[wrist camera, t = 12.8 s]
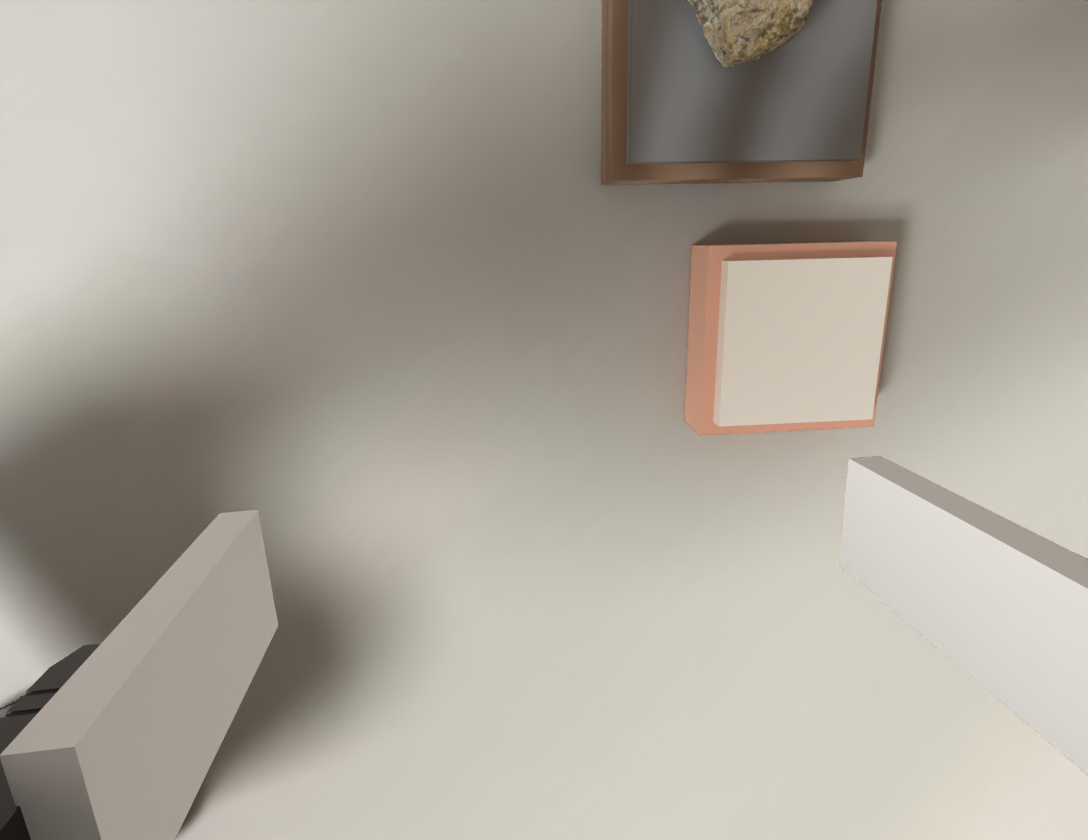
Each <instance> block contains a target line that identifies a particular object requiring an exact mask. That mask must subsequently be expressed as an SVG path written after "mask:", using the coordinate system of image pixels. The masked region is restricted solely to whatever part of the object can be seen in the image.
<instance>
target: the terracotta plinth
mask: <svg viewBox="0 0 1088 840" xmlns="http://www.w3.org/2000/svg"><path fill="white" fill-rule="evenodd" d="M896 246H897V242H892V241H853V242H811V243H769V244H726V245H692V253H691V277H690V301H689V325H688V350H687V374H686V398H685V422H686V423H687V424H688V425H689V426H690V427H691V428H692V429H693V430H694V431H695V432H697V433H698V434H699V435H714V434H735V433H755V432H776V431H796V430H817V429H837V428H858V427H874V420H875V412H876V404H877V396H878V388H879V380H880V373H881V365H882V357H883V349H884V341H885V333H886V325H887V317H888V309H889V302H890V294H891V286H892V278H893V270H894V262H895V254H896Z"/></svg>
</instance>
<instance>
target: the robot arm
mask: <svg viewBox="0 0 1088 840" xmlns="http://www.w3.org/2000/svg"><path fill="white" fill-rule="evenodd" d="M839 566H840V567H841V568H842V569H843V570H844V571H846V572H847V573H848V574H849V575H850V576H852V577H853V578H854V579H855V580H856V581H858V582H859V583H860V584H861V585H862V586H863V587H865V588H866V589H867V590H868V591H869V592H871V593H872V594H873V595H874V596H875V597H876V598H878V599H879V600H880V601H881V602H882V603H884V604H885V605H886V606H887V607H888V608H890V609H891V610H892V611H893V612H894V613H895V614H897V615H898V616H899V617H900V618H901V619H903V620H904V621H905V622H906V623H907V624H908V625H910V626H911V627H912V628H913V629H914V630H916V631H917V632H918V633H919V634H920V635H922V636H923V637H924V638H925V639H926V640H927V641H929V642H930V643H931V644H932V645H933V646H935V647H936V648H937V649H938V650H939V651H940V652H942V653H943V654H944V655H945V656H946V657H948V658H949V659H950V660H951V661H952V662H954V663H955V664H956V665H957V666H958V667H959V668H961V669H962V670H963V671H964V672H965V673H967V674H968V675H969V676H970V677H971V678H972V679H974V680H975V681H976V682H977V683H978V684H980V685H981V686H982V687H983V688H984V689H986V690H987V691H988V692H989V693H990V694H991V695H993V696H994V697H995V698H996V699H997V700H999V701H1000V702H1001V703H1002V704H1003V705H1004V706H1006V707H1007V708H1008V709H1009V710H1010V711H1012V712H1013V713H1014V714H1015V715H1016V716H1018V717H1019V718H1020V719H1021V720H1022V721H1023V722H1025V723H1026V724H1027V725H1028V726H1029V727H1031V728H1032V729H1033V730H1034V731H1035V732H1036V733H1038V734H1039V735H1040V736H1041V737H1042V738H1044V739H1045V740H1046V741H1047V742H1048V743H1050V744H1051V745H1052V746H1053V747H1054V748H1055V749H1057V750H1058V751H1059V752H1060V753H1061V754H1063V755H1064V756H1065V757H1066V758H1067V759H1068V760H1070V761H1071V762H1072V763H1073V764H1074V765H1076V766H1077V767H1078V768H1079V769H1080V770H1081V771H1083V772H1084V773H1085V774H1086V775H1087V776H1088V559H1086V558H1084V557H1082V556H1080V555H1078V554H1076V553H1074V552H1072V551H1070V550H1068V549H1066V548H1064V547H1062V546H1060V545H1058V544H1056V543H1054V542H1052V541H1050V540H1048V539H1046V538H1044V537H1042V536H1040V535H1038V534H1036V533H1034V532H1032V531H1030V530H1028V529H1026V528H1024V527H1022V526H1020V525H1018V524H1016V523H1014V522H1012V521H1010V520H1008V519H1006V518H1004V517H1002V516H1000V515H998V514H996V513H994V512H992V511H990V510H987V509H985V508H983V507H981V506H979V505H977V504H975V503H973V502H971V501H969V500H967V499H965V498H963V497H961V496H959V495H957V494H955V493H953V492H951V491H949V490H947V489H945V488H943V487H941V486H939V485H937V484H935V483H933V482H931V481H929V480H927V479H925V478H923V477H921V476H919V475H917V474H915V473H913V472H911V471H909V470H907V469H905V468H903V467H901V466H899V465H897V464H895V463H893V462H891V461H889V460H887V459H885V458H883V457H881V456H871V457H860V458H849V461H848V473H847V484H846V496H845V507H844V519H843V531H842V542H841V554H840V565H839ZM277 628H278V620H277V615H276V609H275V603H274V597H273V592H272V586H271V580H270V575H269V569H268V563H267V558H266V552H265V546H264V540H263V535H262V529H261V523H260V518H259V512H258V510H249V511H237V512H226V513H219V514H218V516H217V517H216V518H215V519H214V520H213V521H212V522H211V523H210V524H209V525H208V527H207V528H206V529H205V530H204V531H203V532H202V533H201V534H200V535H199V536H198V538H197V539H196V540H195V541H194V542H193V543H192V544H191V545H190V546H189V547H188V549H187V550H186V551H185V552H184V553H183V554H182V555H181V556H180V557H179V558H178V560H177V561H176V562H175V563H174V564H173V565H172V566H171V567H170V568H169V569H168V571H167V572H166V573H165V574H164V575H163V576H162V577H161V578H160V579H159V580H158V582H157V583H156V584H155V585H154V586H153V587H152V588H151V589H150V590H149V591H148V593H147V594H146V595H145V596H144V597H143V598H142V599H141V600H140V601H139V602H138V604H137V605H136V606H135V607H134V608H133V609H132V610H131V611H130V612H129V613H128V615H127V616H126V617H125V618H124V619H123V620H122V621H121V622H120V623H119V624H118V626H117V627H116V628H115V629H114V630H113V631H112V632H111V633H110V634H109V635H108V637H107V638H106V639H105V640H104V641H103V642H102V643H101V644H96V645H86V646H83V647H81V648H79V649H78V650H76V651H75V652H73V653H72V654H70V655H69V656H67V657H65V658H64V659H62V660H61V661H59V662H58V663H56V664H55V665H53V666H52V667H50V668H49V669H48V670H47V671H46V672H45V673H44V674H43V675H42V676H41V677H40V678H39V679H38V680H37V681H36V682H35V683H34V684H33V685H32V686H31V687H30V688H29V689H28V690H27V691H26V696H23V697H21V698H20V699H19V700H18V701H17V702H16V703H15V704H13V705H10V706H8V707H5V708H3V709H1V710H0V840H175V838H176V836H177V834H178V832H179V830H180V828H181V826H182V824H183V822H184V820H185V818H186V816H187V814H188V812H189V810H190V807H191V805H192V803H193V801H194V799H195V797H196V795H197V793H198V791H199V789H200V787H201V785H202V783H203V781H204V779H205V776H206V774H207V772H208V770H209V768H210V766H211V764H212V762H213V760H214V758H215V756H216V754H217V752H218V750H219V747H220V745H221V743H222V741H223V739H224V737H225V735H226V733H227V731H228V729H229V727H230V725H231V723H232V721H233V719H234V716H235V714H236V712H237V710H238V708H239V706H240V704H241V702H242V700H243V698H244V696H245V694H246V692H247V690H248V687H249V685H250V683H251V681H252V679H253V677H254V675H255V673H256V671H257V669H258V667H259V665H260V663H261V661H262V659H263V656H264V654H265V652H266V650H267V648H268V646H269V644H270V642H271V640H272V638H273V636H274V634H275V632H276V630H277Z"/></svg>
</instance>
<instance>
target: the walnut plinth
mask: <svg viewBox="0 0 1088 840" xmlns="http://www.w3.org/2000/svg"><path fill="white" fill-rule="evenodd" d="M881 2H882V0H812V6H811V7H810V8H809V14H808V15H807V19H806V22H805V24H804V26H803V28H802V29H801V30H800V31H799V32H798V33H797V34H796V35H794V36H793V37H792V38H791V39H790V40H789V41H788V42H787V43H785V44H784V45H782V46H780V47H778V49H777V50H776V51H774V52H772V53H770V54H767V55H765V56H763V57H761V58H759V59H754V60H753V61H752V62H749V61H746V62H744V63H741V64H739V65H737V66H735V67H730V68H726V67H723V65H722V63H721V62H720V61H719V60H717V59H716V57H715V54H714V52H713V50H712V47H711V45H710V44H709V43H708V39H707V38H706V37H705V36H704V31H703V26H702V25H700V24H699V22H698V20H697V17H696V14H697V11H696V8H695V7H693V6H692V5H691V3H690V2H687V1H685V0H602V151H601V185H614V184H679V183H743V182H808V181H838V180H844V179H850V178H857V177H862V175H863V166H864V157H865V148H866V139H867V130H868V120H869V111H870V102H871V93H872V84H873V75H874V66H875V57H876V47H877V38H878V29H879V20H880V11H881Z"/></svg>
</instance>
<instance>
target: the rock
mask: <svg viewBox="0 0 1088 840" xmlns="http://www.w3.org/2000/svg"><path fill="white" fill-rule="evenodd" d="M685 1H687V2H690V3H691V5H692V6H693V7H695V8H696V11H697V14H696V17H697V20H698V22H699V24H700V25H702V26H703V31H704V36H705V37H706V38H707V39H708V43H709V44H710V45H711V47H712V50H713V52H714V54H715V57H716V59H717V60H719V61H720V62H721V63H722V65H723V67H726V68H730V67H735V66H737V65H739V64H741V63H744V62H746V61H749V62H752V61H753V60H754V59H759V58H761V57H763V56H765V55H767V54H770V53H772V52H774V51H776V50H777V49H778V47H780V46H782V45H784V44H785V43H787V42H788V41H789V40H790V39H791V38H792V37H793V36H794V35H796V34H797V33H798V32H799V31H800V30H801V29H802V28H803V26H804V24H805V22H806V19H807V15H808V14H809V8H810V7H811V6H812V0H685Z"/></svg>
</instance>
